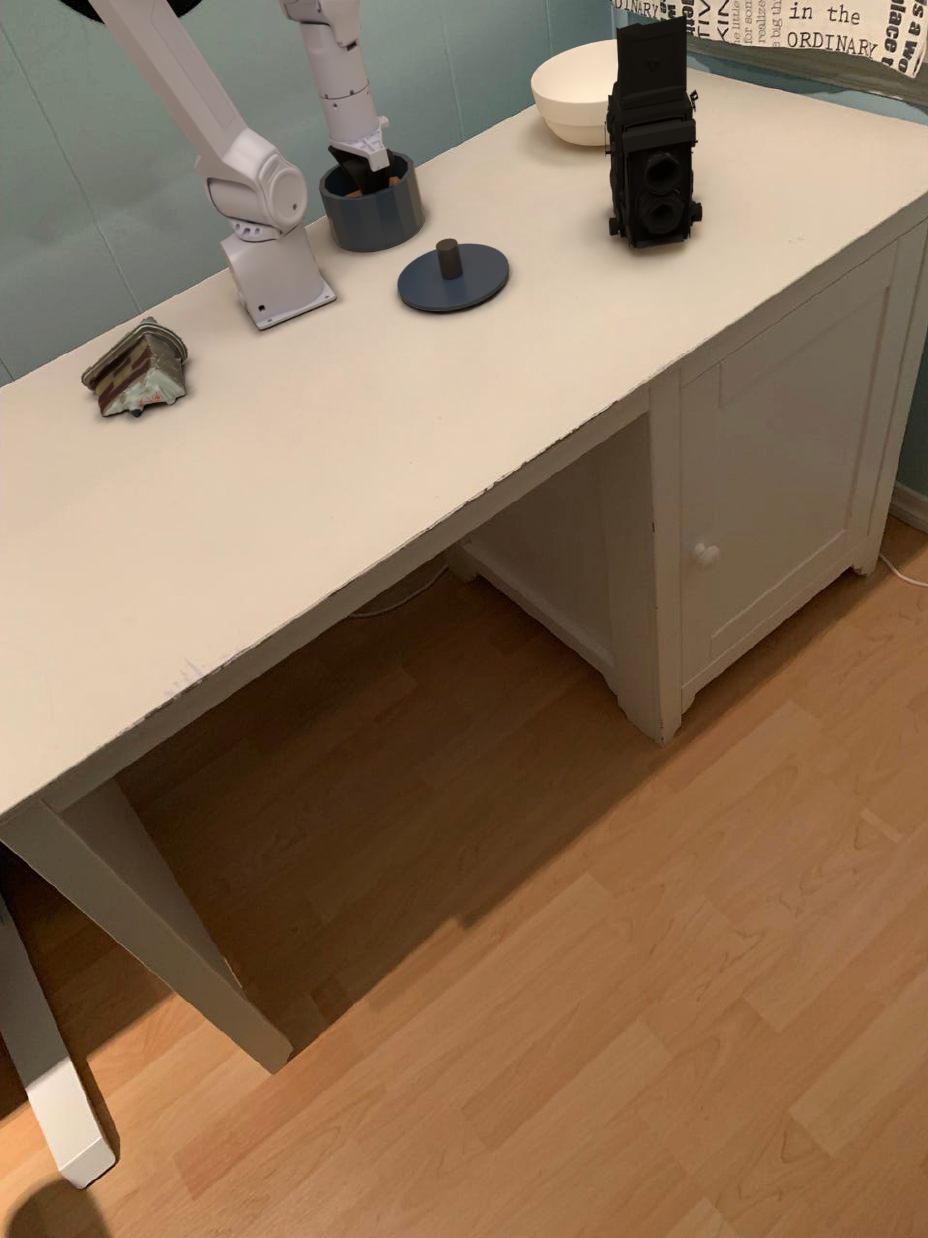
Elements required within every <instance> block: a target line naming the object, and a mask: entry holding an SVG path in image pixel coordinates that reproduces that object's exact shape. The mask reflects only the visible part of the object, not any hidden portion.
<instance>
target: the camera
mask: <svg viewBox="0 0 928 1238" xmlns="http://www.w3.org/2000/svg"><path fill="white" fill-rule="evenodd" d="M615 30H616V31H615V34H616V39H617V56H618V73H617V81H616V82H615V83H614V84H613V90H612V95H608V109H607V111H608V112H607V115H606V121H604V123H605V126H606V125H607V131H608V133H609V134H610V136H609V141H610V145H609V150H607V145H606V128H605V145H604V156H605V157H604V158H607V155H610V169H609V185H610V190H611V201H612V208H613V214H614V215H615V216H612V217H611V216H610V217H609V218H608V230H609V231H608V232H609V235H610V237H614V236H619V235H620V238H621V239H624V238H625V239H626V240H627V243H628V247H629V249H631V246H632V247H633V249H637V250H642V249H648V248H654V247H660V246H664V245H670V244H671V245H672V244H676V243H682V242H685V240H688V239H689V238H691V233H692V227H693V226H694V223H701V222H702V221H703V206H702V202H701V201H700V202H696V200H693V194H694V178H695V177H694V176H695V175H694V174H695V173H694V170H693V154H694V151H693V150H692V148H696V144H698V143H699V139H697V121H696V120H695V118H694V113H697V106H696V102H695V101H697V100H699V94H698V92H697V90H696V89H694V90H693V91H691V93H690V94H688V92H687V91H688V14H683V15H679V16H676V17H672V18H668V19H665V20H662V21H655V22H650V23H646V24H642V23H639V22H636V23H632V24H629V25H625V26H623V27H620V28H619V27H617V26H616V27H615Z"/></svg>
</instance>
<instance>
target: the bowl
mask: <svg viewBox="0 0 928 1238" xmlns="http://www.w3.org/2000/svg"><path fill="white" fill-rule="evenodd" d="M617 73H618V56H617V38H615V39H614V38H613V39H606V40H600V41H599V40H598V41H595V42H590V43H586V44H583V45H579V46H576V47H573V48H570V49H568V50H564V51H562V52H560V53H558V54H556V55H554V56H552V57H551V58H549V59H547V60H546V61H544V62H543V63H542V64H541V65H539V66H538V67H537V68H536V69H535V71H534V72H533V74H532V76H531V78H530V86H531V87H530V89H531V92H532V95H533V99H534V102H535V107H536V109H537V111H538V112H539V114H540V115H541V116H542V117H543V118H544V121H545V123H546V124H547V127H548V128H549V129H550V130H551V131H552V132H553V133H554V134H555V135H556V136H557V137H558V138H560V139H561V140H563V141H565V142H567V143H570V144H574V145H579V146H591V147H592V146H593V147H595V146H596V147H599V146H600V147H601V146H605V128H606V146H610V141H609V136H610V134H609V133H608V131H607V125H606V126H605V123H604V121H606V115H607V112H608V111H607V109H608V95H612V90H613V84H614V83H615V82H616V81H617Z"/></svg>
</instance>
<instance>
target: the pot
mask: <svg viewBox="0 0 928 1238" xmlns="http://www.w3.org/2000/svg"><path fill="white" fill-rule="evenodd" d="M391 151H392V152H393V154H394V162H393V165H392V169H391V173H390V178H391V177H396V176H397V177H398V178H399V179H400V180H399V181H397V182H396V183H395V184H393V185H392V186H390V187H388V188H386V189H383V190H381V191H378V192H376V193H373V194H368V195H363V196H358V197H345V196H346V195H348V194H351V193H353V192H354V191H353V189H352V187H351V185H350V183H349V181H348V179H347V177H346V175H345V173H344V171H343V170H342V168H341V166H340V165H339V163H337V164H335V165H334V166H332V167H331V168H329V169H328V170H326V172H325V173H324V174H323V175H322V177H321V178H320V179H319V184H318V191H319V194H320V197H321V201H322V204H323V208H324V211H325V214H326V217H327V220H328V224H329V227H330V230H331V234H332V237H333V238H334V240H335V242H336V244H337V245H338V246H339V247H340V248H342V249H343V250H346V251H349V252H354V253H372V252H379V251H383V250H387V249H390V248H393V247H396V246H398V245H400V244H402V243H404V242H406V241H408V240H409V239H411V238H412V237H414V236H415V235H416V234H417V233H418V232H420V230H421V229H422V227H423V226H424V224H425V218H426V217H425V211H424V205H423V200H422V196H421V191H420V187H419V181H418V175H417V171H416V168H415V167H416V166H415V163H414V160H412V158H411V157H409V156H408V154H405V153H402V152H397V151H393V150H391Z"/></svg>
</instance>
